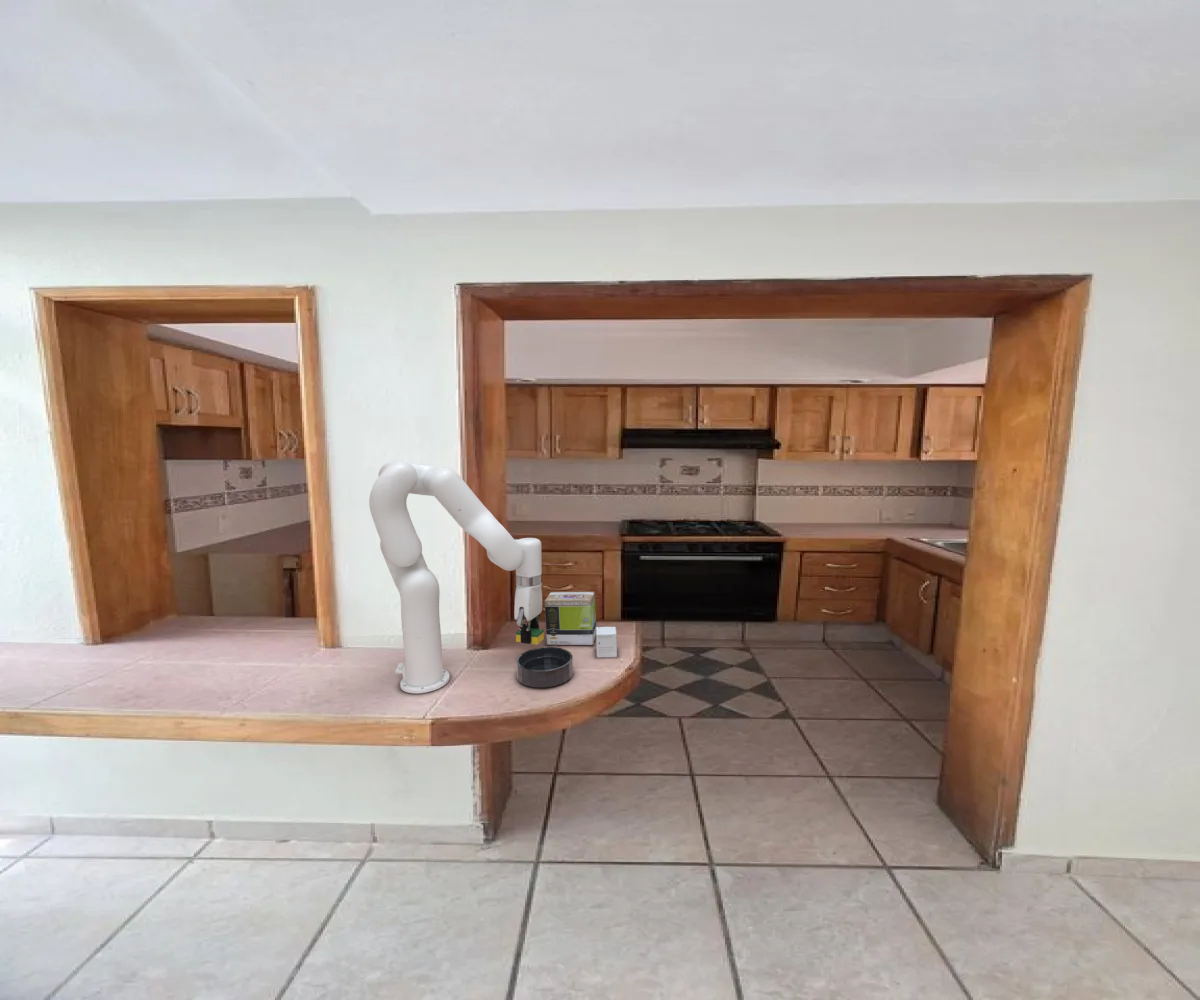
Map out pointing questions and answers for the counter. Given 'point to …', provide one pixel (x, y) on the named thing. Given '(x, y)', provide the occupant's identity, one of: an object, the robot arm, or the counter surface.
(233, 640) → the counter surface
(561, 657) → the bowl
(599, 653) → the product box
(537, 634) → the sponge
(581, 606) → the tea box
